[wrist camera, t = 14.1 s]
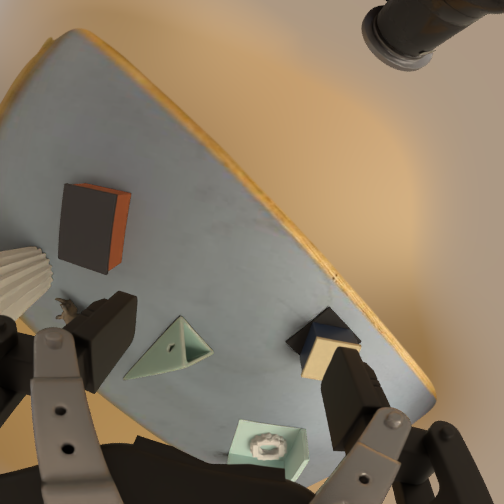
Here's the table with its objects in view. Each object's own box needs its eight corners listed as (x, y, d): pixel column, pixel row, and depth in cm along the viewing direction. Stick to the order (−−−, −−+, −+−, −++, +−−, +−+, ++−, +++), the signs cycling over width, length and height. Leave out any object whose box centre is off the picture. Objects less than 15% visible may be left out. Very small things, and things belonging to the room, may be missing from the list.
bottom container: (84, 181, 38) (64, 183, 33) (133, 192, 38) (116, 194, 33) (76, 249, 40) (57, 258, 35) (122, 264, 40) (106, 275, 35)
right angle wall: (305, 429, 46) (309, 459, 39) (286, 463, 49) (287, 492, 42) (239, 419, 46) (236, 450, 39) (228, 455, 49) (223, 484, 42)
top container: (312, 320, 40) (317, 338, 36) (352, 328, 41) (361, 346, 36) (298, 356, 42) (301, 377, 37) (337, 363, 42) (343, 383, 37)
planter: (154, 406, 46) (220, 375, 40) (122, 400, 43) (183, 366, 36) (152, 367, 52) (213, 328, 45) (122, 359, 48) (179, 315, 41)
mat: (285, 341, 42) (285, 342, 42) (329, 306, 40) (329, 307, 40) (319, 372, 43) (319, 373, 43) (360, 340, 41) (361, 341, 41)
